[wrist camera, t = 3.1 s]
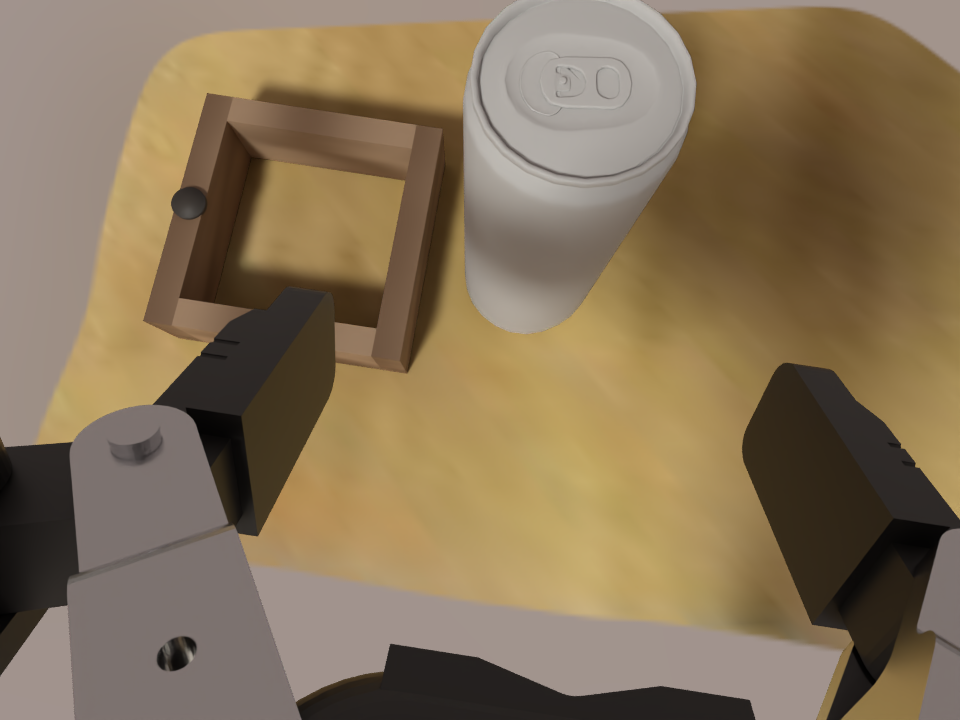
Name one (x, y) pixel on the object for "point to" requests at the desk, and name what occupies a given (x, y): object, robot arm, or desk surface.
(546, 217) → the beverage can
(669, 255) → the desk surface
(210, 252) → the collar
